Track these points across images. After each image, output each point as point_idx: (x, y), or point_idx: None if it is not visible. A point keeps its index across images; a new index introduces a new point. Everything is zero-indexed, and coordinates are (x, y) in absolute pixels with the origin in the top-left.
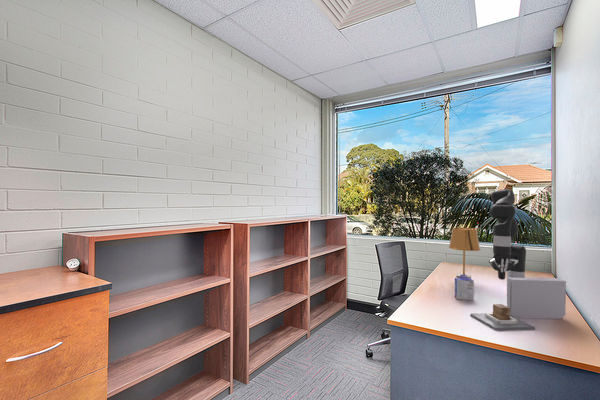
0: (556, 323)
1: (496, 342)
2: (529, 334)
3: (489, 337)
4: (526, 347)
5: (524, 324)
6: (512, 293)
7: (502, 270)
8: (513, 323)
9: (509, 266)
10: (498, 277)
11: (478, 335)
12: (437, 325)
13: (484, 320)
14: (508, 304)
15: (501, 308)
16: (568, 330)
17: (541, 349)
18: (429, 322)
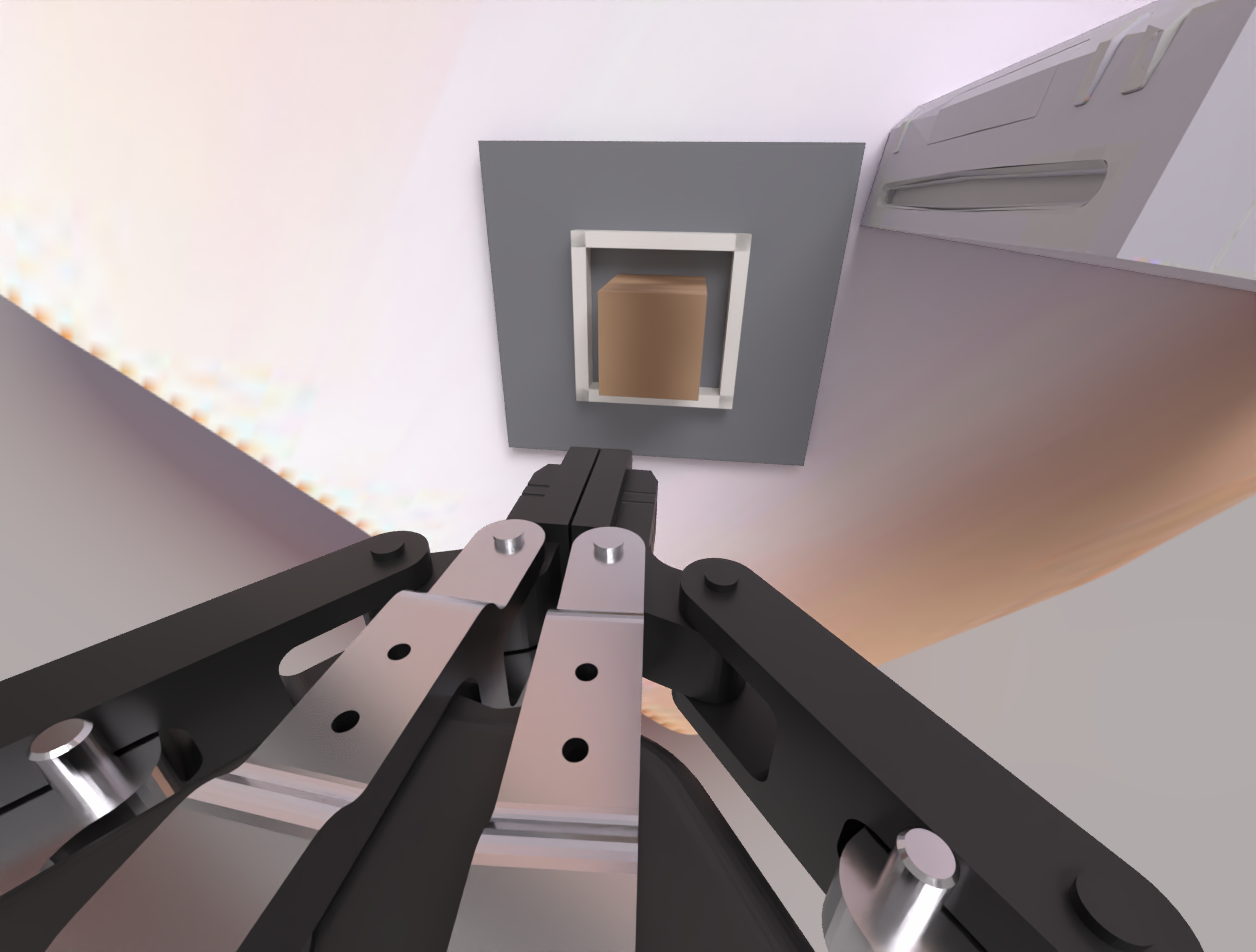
0: (1116, 388)
1: None
2: (686, 510)
3: (418, 507)
4: None
5: (765, 423)
6: (965, 233)
7: (528, 658)
8: None
9: (746, 790)
10: (544, 471)
11: (369, 479)
12: (161, 320)
13: (509, 318)
14: (924, 148)
15: (609, 394)
16: (1029, 500)
17: None
18: (111, 262)
